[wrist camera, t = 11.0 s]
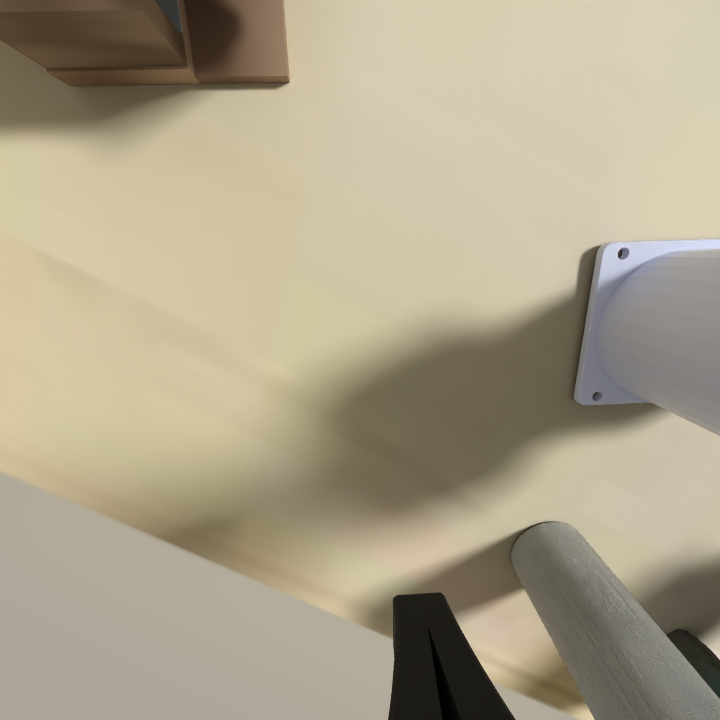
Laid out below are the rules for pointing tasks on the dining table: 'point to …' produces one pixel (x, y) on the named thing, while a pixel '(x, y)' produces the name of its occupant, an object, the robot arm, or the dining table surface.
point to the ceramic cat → (698, 657)
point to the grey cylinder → (606, 633)
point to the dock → (150, 40)
